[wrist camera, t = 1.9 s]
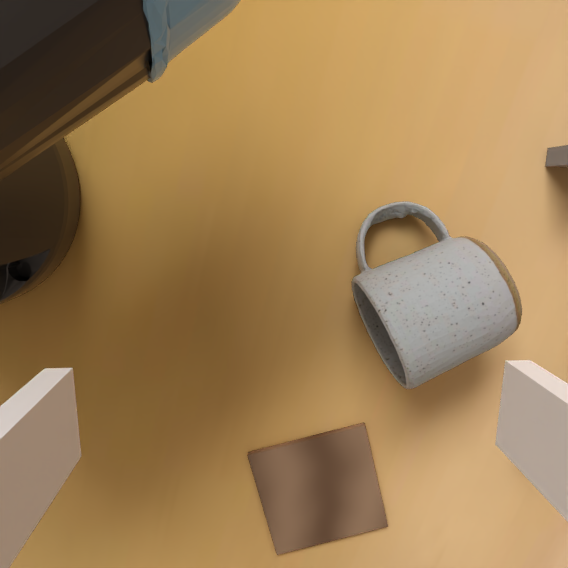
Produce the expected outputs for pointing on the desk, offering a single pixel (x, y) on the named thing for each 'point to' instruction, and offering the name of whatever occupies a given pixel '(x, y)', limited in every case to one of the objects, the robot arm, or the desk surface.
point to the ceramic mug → (434, 300)
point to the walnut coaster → (318, 488)
